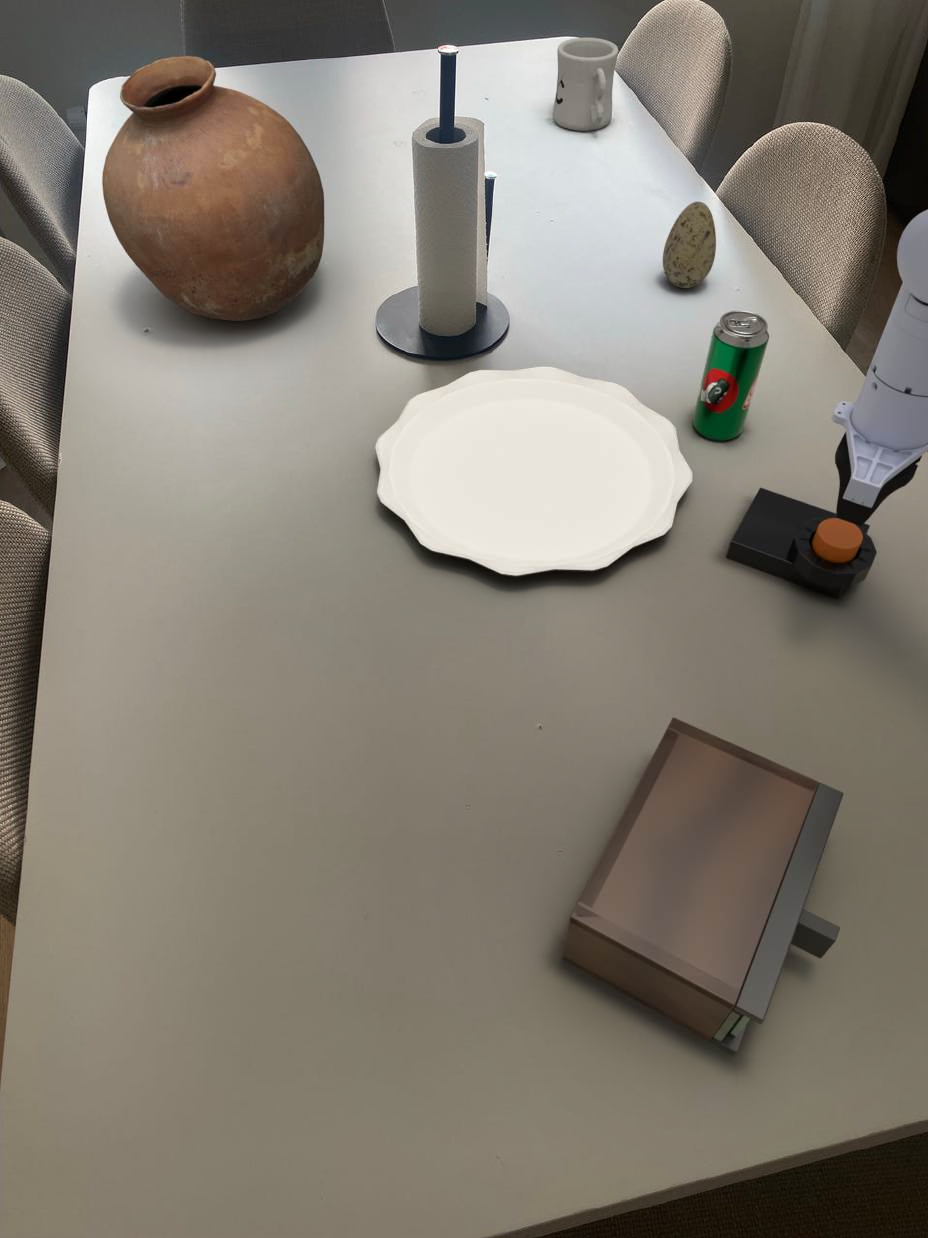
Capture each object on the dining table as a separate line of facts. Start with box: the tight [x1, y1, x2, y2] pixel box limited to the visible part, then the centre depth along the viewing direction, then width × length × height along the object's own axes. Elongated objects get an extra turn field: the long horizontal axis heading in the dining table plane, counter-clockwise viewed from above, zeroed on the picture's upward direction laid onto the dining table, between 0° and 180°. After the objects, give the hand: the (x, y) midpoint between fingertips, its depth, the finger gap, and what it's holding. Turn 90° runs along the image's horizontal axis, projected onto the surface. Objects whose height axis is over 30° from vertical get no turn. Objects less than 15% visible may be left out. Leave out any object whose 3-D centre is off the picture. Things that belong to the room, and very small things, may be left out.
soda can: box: [692, 310, 770, 442], centre depth 88 cm, size 5×5×12 cm
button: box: [812, 518, 863, 563], centre depth 76 cm, size 4×4×2 cm
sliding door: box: [731, 908, 841, 1036], centre depth 54 cm, size 3×8×5 cm, turn 150°
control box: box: [725, 487, 878, 601], centre depth 79 cm, size 11×9×4 cm
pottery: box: [101, 55, 325, 322], centre depth 99 cm, size 23×23×25 cm
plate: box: [374, 365, 693, 578], centre depth 87 cm, size 29×29×2 cm
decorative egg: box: [662, 201, 717, 289], centre depth 106 cm, size 6×6×10 cm
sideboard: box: [560, 717, 845, 1056], centre depth 58 cm, size 12×16×7 cm
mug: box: [552, 37, 619, 132], centre depth 136 cm, size 12×9×10 cm
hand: (850, 516), depth 72 cm, fingers closed
